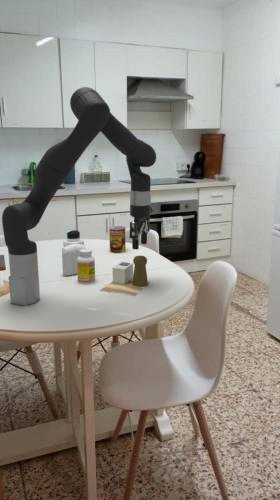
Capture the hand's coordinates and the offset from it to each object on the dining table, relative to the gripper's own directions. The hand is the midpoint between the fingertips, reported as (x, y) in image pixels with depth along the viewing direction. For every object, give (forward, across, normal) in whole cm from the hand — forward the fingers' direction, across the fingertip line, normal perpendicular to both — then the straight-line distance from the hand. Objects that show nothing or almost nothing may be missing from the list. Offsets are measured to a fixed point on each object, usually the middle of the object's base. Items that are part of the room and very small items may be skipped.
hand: (139, 246), depth 152 cm
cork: (+15, -1, -1) cm, 15 cm away
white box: (+14, +1, +7) cm, 16 cm away
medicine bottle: (+16, +27, +44) cm, 54 cm away
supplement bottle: (+15, -5, +20) cm, 26 cm away
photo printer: (+16, +3, +30) cm, 34 cm away
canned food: (+16, +42, +28) cm, 53 cm away
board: (+15, -4, +3) cm, 16 cm away
